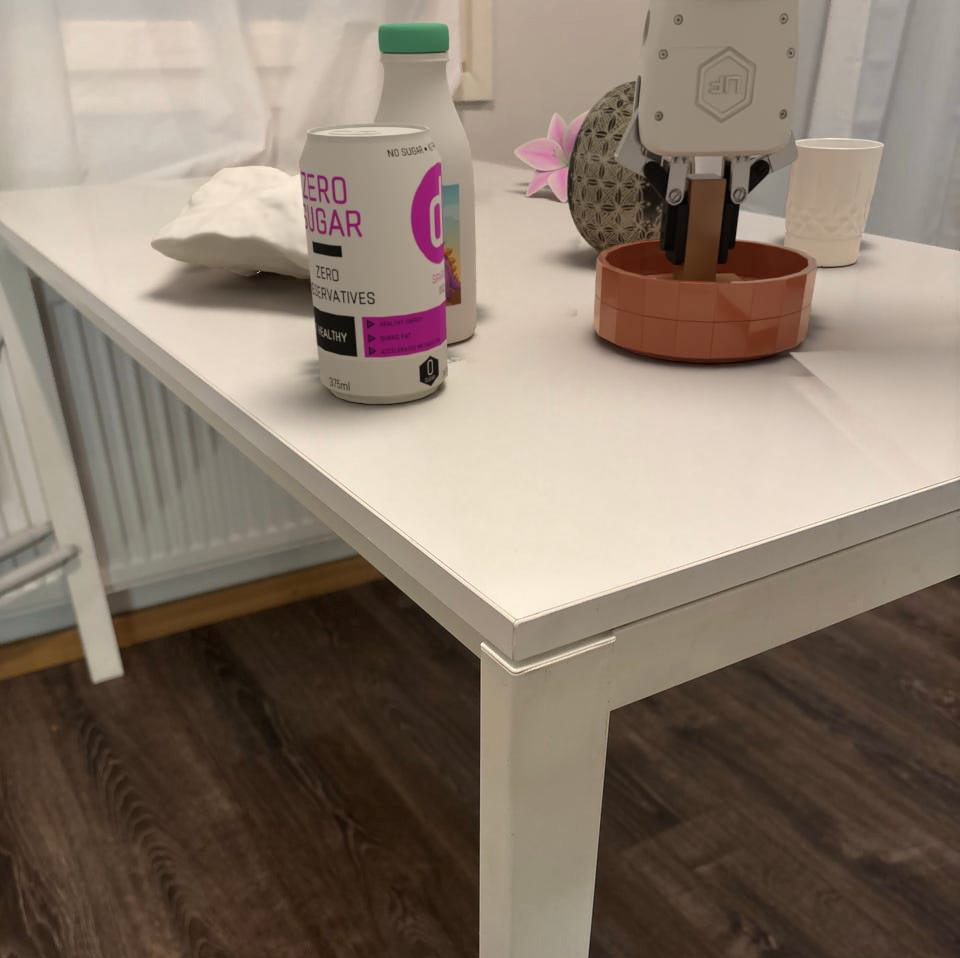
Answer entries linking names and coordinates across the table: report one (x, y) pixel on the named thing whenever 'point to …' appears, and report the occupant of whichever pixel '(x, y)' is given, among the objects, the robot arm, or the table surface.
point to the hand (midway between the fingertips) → (695, 258)
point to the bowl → (704, 303)
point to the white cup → (831, 197)
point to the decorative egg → (611, 178)
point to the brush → (702, 230)
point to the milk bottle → (427, 101)
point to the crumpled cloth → (242, 224)
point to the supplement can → (376, 259)
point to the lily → (551, 156)
